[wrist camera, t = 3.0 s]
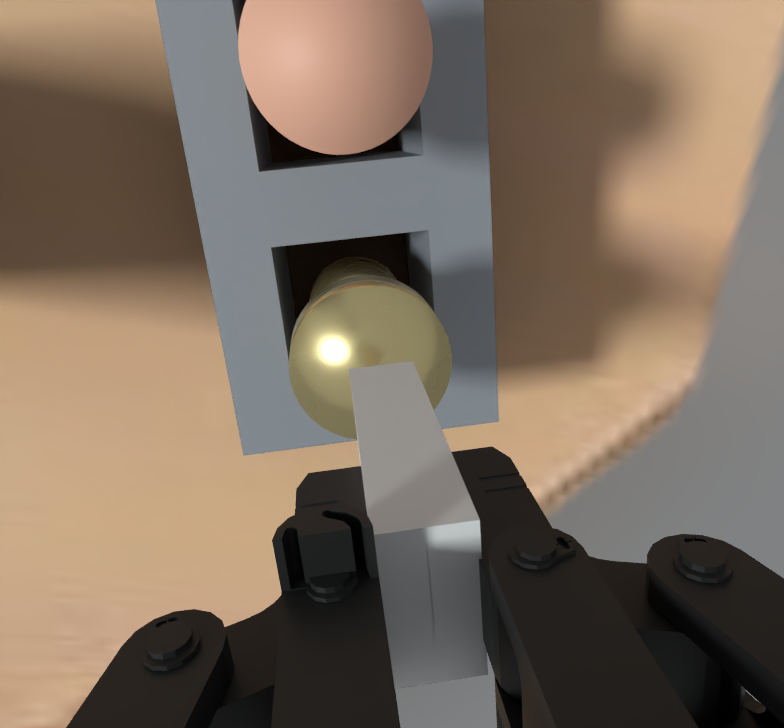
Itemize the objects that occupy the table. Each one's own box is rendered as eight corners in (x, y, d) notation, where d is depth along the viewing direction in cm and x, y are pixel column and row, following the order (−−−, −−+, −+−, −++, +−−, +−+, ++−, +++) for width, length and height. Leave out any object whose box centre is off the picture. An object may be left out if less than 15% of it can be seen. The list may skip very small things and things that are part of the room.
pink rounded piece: (252, 8, 21) (221, -53, 14) (390, -4, 21) (425, -68, 14) (273, 154, 23) (255, 163, 16) (402, 141, 23) (439, 145, 16)
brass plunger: (288, 250, 24) (276, 297, 17) (409, 236, 24) (446, 277, 17) (305, 365, 25) (301, 450, 19) (419, 350, 26) (456, 429, 19)
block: (135, -309, 22) (58, -497, 15) (422, -322, 23) (465, -507, 16) (259, 387, 31) (243, 455, 24) (461, 361, 32) (498, 421, 25)
